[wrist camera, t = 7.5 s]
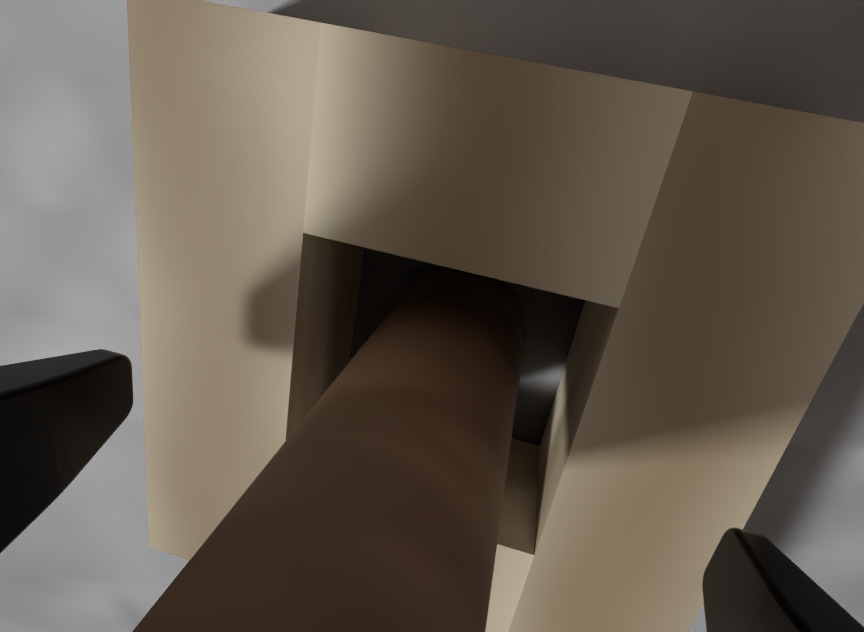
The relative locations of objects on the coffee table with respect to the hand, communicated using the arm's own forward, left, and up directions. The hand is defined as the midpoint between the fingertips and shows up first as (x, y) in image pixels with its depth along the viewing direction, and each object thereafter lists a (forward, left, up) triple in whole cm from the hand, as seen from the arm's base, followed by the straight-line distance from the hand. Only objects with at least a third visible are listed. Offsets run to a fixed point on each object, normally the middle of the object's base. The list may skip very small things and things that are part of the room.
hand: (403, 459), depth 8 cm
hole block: (0, 0, -5) cm, 5 cm away
